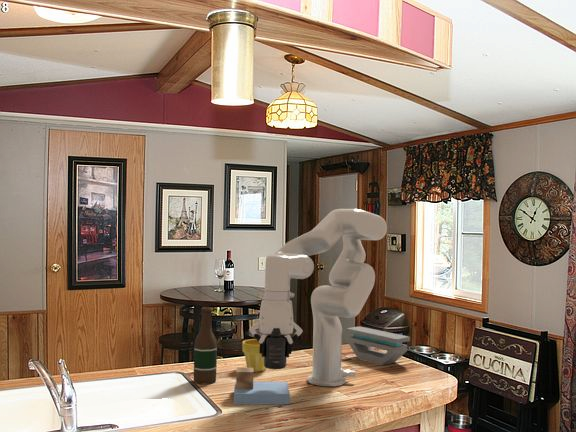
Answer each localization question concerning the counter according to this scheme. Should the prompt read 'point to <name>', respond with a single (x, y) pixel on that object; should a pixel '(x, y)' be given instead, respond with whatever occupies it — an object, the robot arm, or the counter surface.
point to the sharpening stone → (376, 345)
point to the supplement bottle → (275, 350)
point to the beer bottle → (205, 351)
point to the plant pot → (253, 355)
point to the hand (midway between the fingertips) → (275, 355)
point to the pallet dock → (263, 393)
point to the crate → (244, 378)
